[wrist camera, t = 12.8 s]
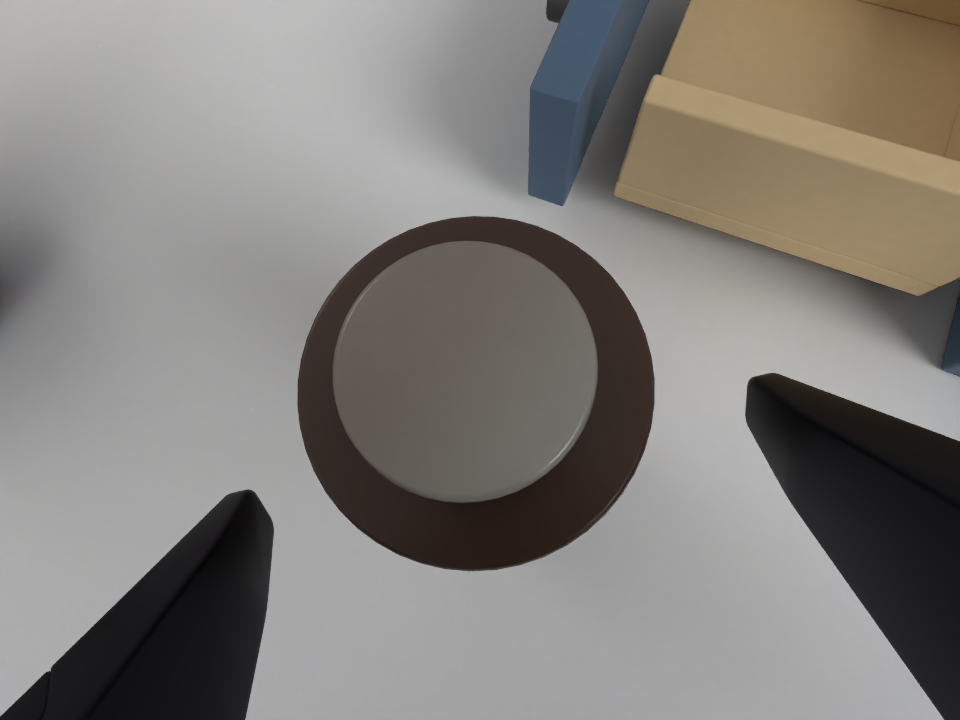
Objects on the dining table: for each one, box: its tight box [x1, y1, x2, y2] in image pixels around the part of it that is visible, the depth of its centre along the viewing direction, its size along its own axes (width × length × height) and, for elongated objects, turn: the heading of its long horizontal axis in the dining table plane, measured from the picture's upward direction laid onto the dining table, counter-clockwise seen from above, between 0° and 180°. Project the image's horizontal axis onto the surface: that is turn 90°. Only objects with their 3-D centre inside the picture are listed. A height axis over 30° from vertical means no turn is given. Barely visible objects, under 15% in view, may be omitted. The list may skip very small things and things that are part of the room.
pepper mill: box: [298, 216, 654, 571], centre depth 11 cm, size 4×4×11 cm
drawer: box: [528, 0, 960, 296], centre depth 15 cm, size 13×10×5 cm
